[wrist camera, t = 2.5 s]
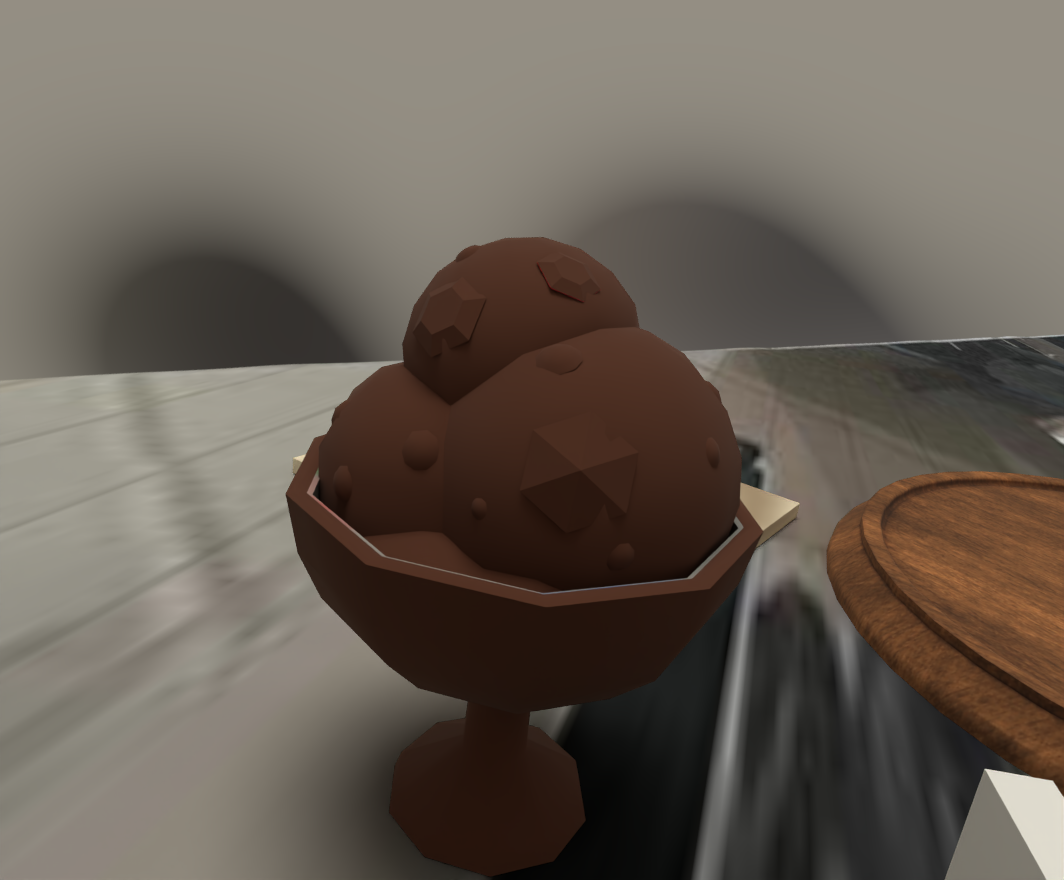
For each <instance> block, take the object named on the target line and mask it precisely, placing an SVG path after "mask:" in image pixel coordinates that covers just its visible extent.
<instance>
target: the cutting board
mask: <svg viewBox="0 0 1064 880" xmlns="http://www.w3.org/2000/svg"><path fill="white" fill-rule="evenodd" d="M827 573H828V576H829V579H830V581H831V584H832V587H833V590H834V592H835V595H836V598H837V600H838V602H839V603H840V605H841V606H842V608H843V609H844V611H845V612H846V614H847V615H848V617H849V619H850V620H851V622H852V623H853V625H854V626H855V628H856V629H857V631H858V632H859V633H860V634H861V636H862V637H863V638H864V639H865V640H866V641H867V642H868V643H869V644H870V646H871V647H872V648H873V649H874V650H875V651H876V652H877V653H878V654H879V656H880V657H881V658H882V659H883V660H884V661H885V662H886V663H887V664H888V665H889V667H890V668H891V669H892V670H893V671H894V672H896V673H897V674H898V675H899V676H900V677H901V678H902V679H903V680H905V681H906V682H907V683H908V684H909V685H910V686H911V687H913V688H914V689H915V690H916V691H917V692H918V693H919V694H920V695H922V696H923V697H924V698H925V699H926V700H927V701H928V702H930V703H931V704H932V705H933V706H934V707H935V708H936V709H937V710H939V711H940V712H941V713H942V714H944V715H945V716H946V717H948V718H949V719H950V720H952V721H953V722H954V723H956V724H957V725H959V726H960V727H961V728H963V729H964V730H965V731H967V732H968V733H969V734H971V735H972V736H974V737H975V738H976V739H978V740H979V741H980V742H982V743H983V744H984V745H986V746H987V747H989V748H990V749H991V750H993V751H994V752H995V753H997V754H998V755H999V756H1001V757H1002V758H1003V759H1005V760H1006V761H1008V762H1009V763H1011V764H1013V765H1014V766H1016V767H1017V768H1019V769H1021V770H1022V771H1024V772H1025V773H1027V774H1029V775H1030V776H1032V777H1034V778H1040V779H1045V780H1051V781H1053V782H1054V783H1055V785H1056V787H1057V788H1058V790H1059V791H1060V793H1061V794H1062V796H1064V479H1057V478H1050V477H1041V476H1033V475H1024V474H1015V473H998V472H980V471H979V472H943V473H934V474H925V475H919V476H915V477H911V478H907V479H903V480H899V481H896V482H894V483H892V484H890V485H888V486H886V487H884V488H882V489H880V490H879V491H878V492H877V493H876V494H875V495H874V496H873V497H872V498H871V499H870V500H868V501H866V502H864V503H862V504H860V505H858V506H856V507H854V508H853V509H852V510H851V511H850V512H849V513H848V514H847V515H845V516H844V517H843V518H842V519H841V520H840V521H839V522H838V524H837V525H836V527H835V530H834V532H833V535H832V537H831V539H830V542H829V544H828V548H827Z"/></svg>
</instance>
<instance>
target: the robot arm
mask: <svg viewBox="0 0 1064 880" xmlns="http://www.w3.org/2000/svg"><path fill="white" fill-rule="evenodd" d="M945 880H1064V797H1063V796H1062V794H1061V793H1060V791H1059V790H1058V788H1057V787H1056V785H1055V783H1054V782H1053V781H1051V780H1045V779H1040V778H1034V777H1028V776H1023V775H1017V774H1011V773H1005V772H1000V771H994V770H988V769H985V770H984V772H983V775H982V778H981V781H980V783H979V786H978V789H977V792H976V795H975V797H974V800H973V803H972V806H971V808H970V811H969V814H968V817H967V819H966V822H965V825H964V828H963V831H962V833H961V836H960V839H959V842H958V844H957V847H956V850H955V853H954V855H953V858H952V861H951V864H950V867H949V869H948V872H947V875H946V878H945Z"/></svg>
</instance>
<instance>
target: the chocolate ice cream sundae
mask: <svg viewBox="0 0 1064 880" xmlns="http://www.w3.org/2000/svg"><path fill="white" fill-rule="evenodd" d="M402 345H403V359H404V362H402V363H397V364H393V365H389V366H384V367H381V368H380V369H379V370H377V371H376V372H375V373H374V374H372V375H371V376H370V377H369V378H367V379H366V380H365V381H363V382H362V383H361V384H360V385H358V386H357V387H356V388H355V389H353V391H352V393H351V394H350V396H349V398H348V399H347V400H345V401H344V402H343V403H341V404H340V405H339V406H338V407H336V408H335V411H334V414H333V417H332V426H331V427H330V429H329V431H328V432H327V434H325V435H322V436H319V437H316V438H314V440H313V442H312V444H311V446H310V448H309V450H308V451H307V453H306V455H305V457H304V459H303V461H302V463H301V465H300V467H299V469H298V471H297V473H296V475H295V477H294V479H293V481H292V483H291V484H290V486H289V488H288V490H287V492H286V498H287V503H288V508H289V513H290V518H291V522H292V527H293V532H294V537H295V542H296V547H297V552H298V554H299V556H300V558H301V560H302V562H303V564H304V566H305V568H306V570H307V572H308V573H309V575H310V577H311V579H312V581H313V583H314V585H315V587H316V589H317V591H318V593H319V595H320V596H321V598H322V599H323V600H324V601H325V602H326V603H327V604H328V605H329V606H330V607H331V608H332V609H333V610H334V611H335V612H336V613H337V614H338V615H339V616H340V618H341V619H342V620H343V621H344V622H345V623H346V624H347V625H348V626H349V627H350V628H351V629H352V630H353V631H354V632H355V633H356V634H357V635H358V636H359V637H360V638H361V639H362V640H363V641H364V642H365V643H366V644H367V645H368V646H369V647H370V648H371V649H372V650H373V651H374V652H375V653H376V654H377V655H378V656H379V657H380V658H381V659H382V660H383V661H384V662H385V663H386V664H387V665H388V666H389V667H391V668H392V669H393V670H395V671H396V672H397V673H399V674H400V675H401V676H403V677H404V678H405V679H407V680H408V681H409V682H411V683H412V684H413V685H415V686H416V687H417V688H420V689H424V690H427V691H431V692H435V693H439V694H442V695H446V696H450V697H454V698H458V699H461V700H465V701H468V704H467V711H466V718H462V719H456V720H450V721H444V722H438V723H436V724H435V725H434V726H432V727H431V728H430V729H429V730H428V731H426V732H425V733H424V734H423V735H421V736H420V737H419V738H418V739H417V740H415V741H414V742H413V743H412V744H410V745H409V746H408V747H407V748H406V749H404V750H403V751H402V752H401V754H400V756H399V758H398V760H397V762H396V764H395V768H394V776H393V784H392V792H391V800H390V808H389V813H390V814H391V816H392V817H393V818H394V819H395V821H396V822H397V823H398V824H399V826H400V827H401V828H402V829H403V831H404V832H405V833H406V834H407V836H408V837H409V838H410V839H411V841H412V842H413V843H414V844H415V846H416V847H417V848H418V849H419V851H420V852H421V853H422V854H423V856H424V857H427V858H430V859H434V860H437V861H440V862H443V863H447V864H450V865H453V866H456V867H460V868H463V869H466V870H470V871H473V872H476V873H479V874H483V875H486V876H489V877H491V876H495V875H499V874H503V873H507V872H511V871H515V870H520V869H524V868H528V867H532V866H536V865H540V864H544V863H549V862H553V861H554V860H555V859H556V857H557V856H558V855H559V854H560V852H561V851H562V850H563V849H564V847H565V846H566V845H567V844H568V842H569V841H570V840H571V838H572V837H573V836H574V835H575V833H576V832H577V831H578V830H579V828H580V827H581V826H582V824H583V823H584V822H585V821H586V819H585V813H584V807H583V801H582V795H581V788H580V782H579V776H578V771H577V765H576V760H575V759H574V758H573V757H571V756H570V755H569V754H568V753H567V752H566V751H565V750H564V749H562V748H561V747H560V746H559V745H558V744H557V743H556V742H555V741H554V740H552V739H551V738H550V737H549V736H548V735H547V734H546V733H545V732H543V731H542V730H541V729H540V728H538V727H534V726H530V725H529V717H530V712H533V711H539V710H545V709H551V708H557V707H563V706H569V705H575V704H581V703H587V702H593V701H599V700H606V699H610V698H613V697H616V696H618V695H621V694H623V693H626V692H628V691H631V690H633V689H636V688H638V687H641V686H643V685H646V684H648V683H651V682H653V681H655V680H656V679H657V678H658V677H659V676H660V675H661V673H662V672H663V671H664V670H665V669H666V668H667V667H668V665H669V664H670V663H671V662H672V661H673V660H674V658H675V657H676V656H677V655H678V654H679V653H680V652H681V650H682V649H683V648H684V647H685V646H686V645H687V644H688V642H689V641H690V640H691V639H692V638H693V637H694V636H695V634H696V633H697V632H698V631H699V630H700V629H701V628H702V626H703V625H704V624H705V623H706V622H707V621H708V619H709V618H710V617H711V616H712V615H713V614H714V612H715V611H716V610H717V609H718V608H719V606H720V605H721V604H722V603H723V602H724V601H725V599H726V598H727V597H728V596H729V595H730V594H731V592H732V591H733V590H734V589H735V588H736V586H737V585H738V584H739V582H740V580H741V578H742V576H743V573H744V571H745V569H746V567H747V565H748V563H749V561H750V559H751V557H752V555H753V553H754V551H755V548H756V546H757V544H758V542H759V540H760V538H761V536H762V534H763V532H764V531H763V530H762V529H761V527H760V526H759V524H758V523H757V522H756V520H755V519H754V518H753V516H752V515H751V513H750V512H749V511H748V509H747V508H746V506H745V505H744V504H743V502H742V501H741V499H740V487H741V464H742V457H741V454H740V451H739V448H738V445H737V441H736V438H735V435H734V432H733V428H732V425H731V422H730V419H729V416H728V412H727V410H726V409H725V408H724V406H723V405H722V402H721V398H720V394H719V391H718V390H717V389H716V388H715V387H714V386H713V385H712V384H711V383H710V382H708V381H705V380H704V379H703V377H702V376H701V375H700V373H699V372H698V371H697V369H696V368H695V367H694V365H693V364H692V363H691V362H690V360H689V359H688V358H687V357H686V355H685V354H684V353H682V352H680V351H679V350H677V349H676V348H674V347H672V346H671V345H669V344H668V343H666V342H665V341H663V340H661V339H660V338H658V337H657V336H655V335H654V334H652V333H650V332H648V331H646V330H643V329H640V328H639V323H638V317H637V312H636V307H635V304H634V302H633V301H632V299H631V298H630V296H629V295H628V294H627V292H626V291H625V289H624V288H623V287H622V286H621V284H620V282H619V281H618V280H617V278H616V277H615V276H614V274H613V273H612V272H611V271H610V270H608V269H607V268H606V267H604V266H603V265H602V264H600V263H599V262H598V261H596V260H595V259H593V258H592V257H591V256H589V255H588V254H587V253H585V252H584V251H583V250H581V249H579V248H576V247H572V246H569V245H566V244H563V243H560V242H557V241H554V240H550V239H547V238H544V237H534V238H533V237H532V238H504V239H501V240H498V241H494V242H491V243H488V244H485V245H482V246H477V245H474V246H470V247H468V248H466V249H464V250H463V251H461V252H460V253H459V254H458V256H457V257H456V259H455V260H454V261H453V262H451V263H450V264H448V265H447V266H446V267H444V268H443V269H442V270H440V271H439V272H437V274H436V275H435V277H434V278H433V279H432V281H431V282H430V284H429V285H428V287H427V288H426V289H425V291H424V292H423V294H422V295H421V296H420V298H419V299H418V301H417V302H416V304H415V305H414V308H413V311H412V314H411V318H410V321H409V324H408V327H407V331H406V334H405V337H404V341H403V344H402Z"/></svg>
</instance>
